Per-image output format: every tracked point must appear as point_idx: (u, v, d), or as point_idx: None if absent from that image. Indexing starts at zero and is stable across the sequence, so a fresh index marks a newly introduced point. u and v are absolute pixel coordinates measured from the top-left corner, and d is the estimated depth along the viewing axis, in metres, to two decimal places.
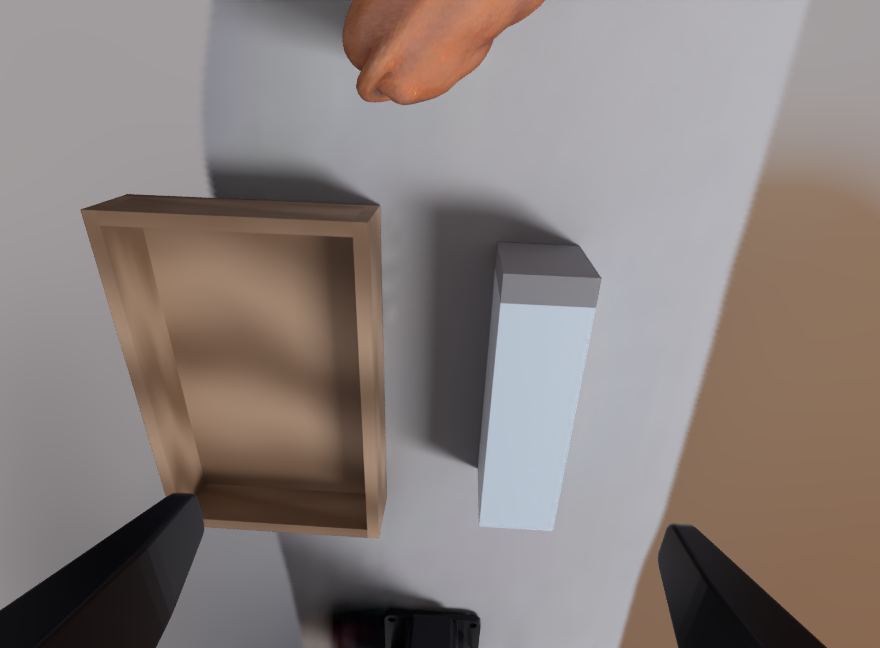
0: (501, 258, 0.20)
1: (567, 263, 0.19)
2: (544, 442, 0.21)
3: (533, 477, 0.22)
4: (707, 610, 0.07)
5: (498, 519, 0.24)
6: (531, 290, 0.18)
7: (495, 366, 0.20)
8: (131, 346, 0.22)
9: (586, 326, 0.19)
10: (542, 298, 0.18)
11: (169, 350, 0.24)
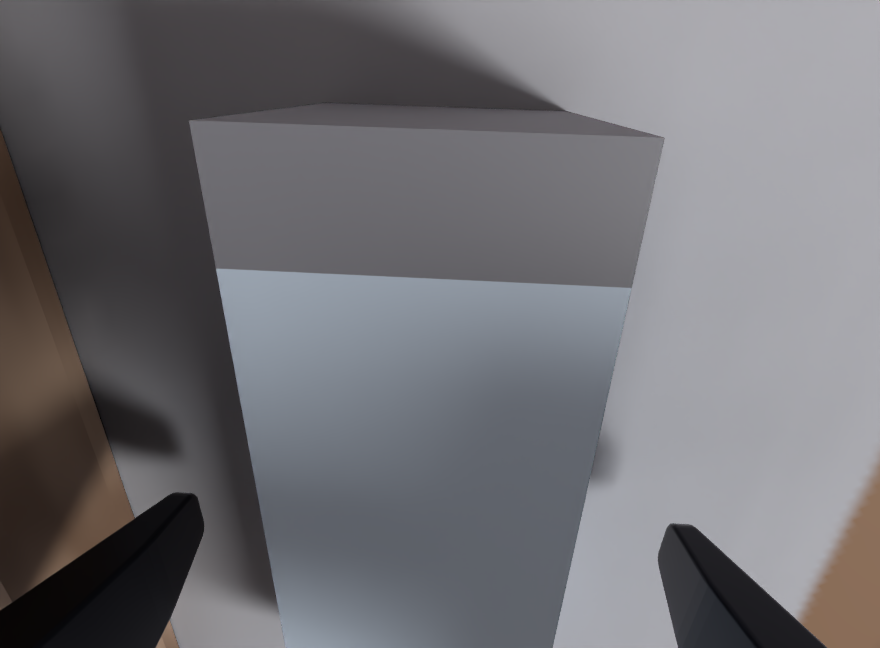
0: (276, 111, 0.05)
1: (515, 119, 0.05)
2: None
3: None
4: (707, 610, 0.07)
5: None
6: (337, 207, 0.04)
7: (262, 504, 0.06)
8: None
9: (590, 367, 0.04)
10: (392, 245, 0.04)
11: None
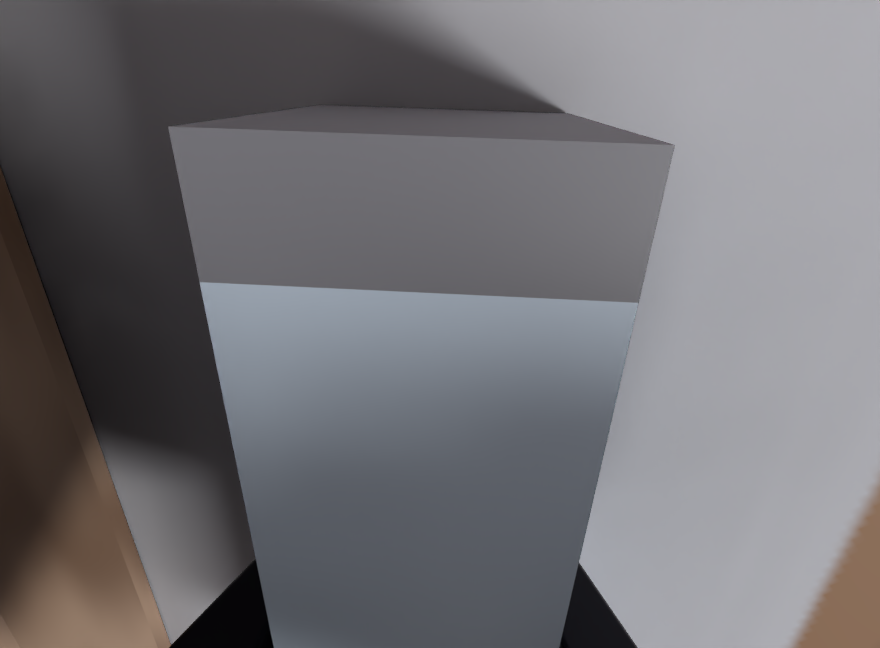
0: None
1: (516, 124, 0.05)
2: None
3: None
4: None
5: None
6: (326, 218, 0.04)
7: (251, 525, 0.05)
8: None
9: (594, 385, 0.04)
10: (385, 258, 0.04)
11: None
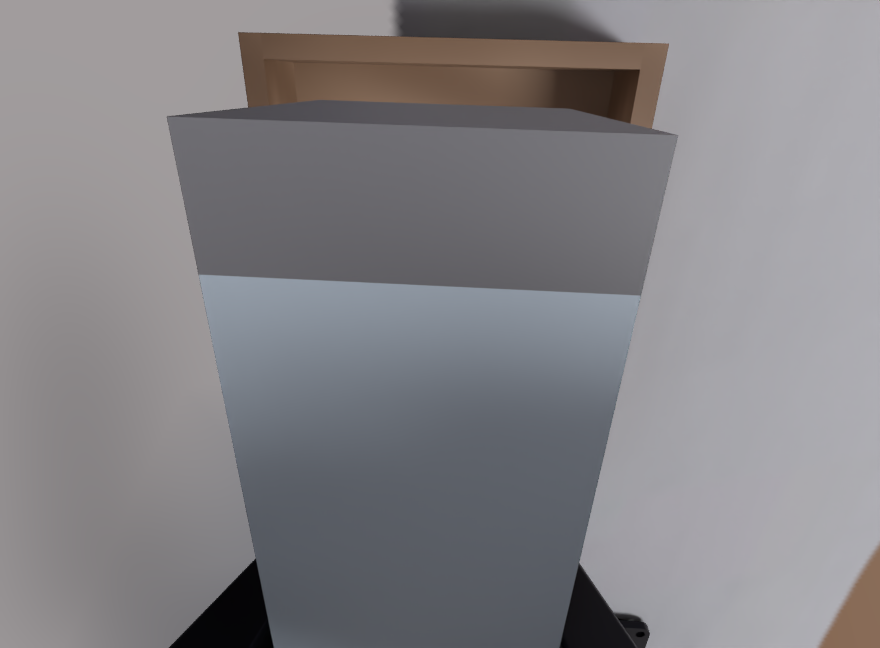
0: (265, 108, 0.05)
1: (517, 117, 0.05)
2: None
3: None
4: None
5: None
6: (326, 209, 0.04)
7: (251, 520, 0.05)
8: None
9: (596, 379, 0.04)
10: (385, 250, 0.04)
11: None
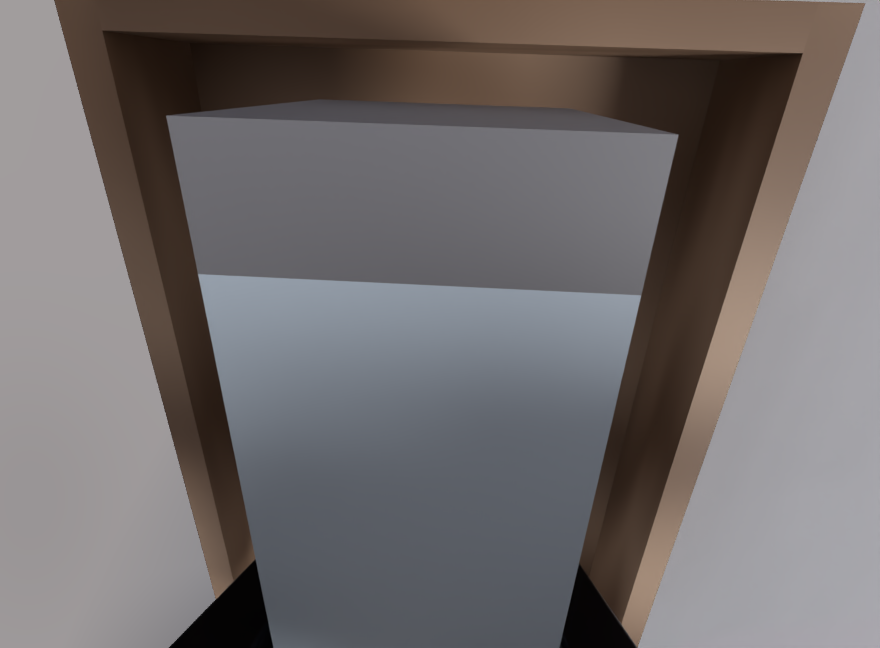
0: None
1: (517, 115, 0.05)
2: None
3: None
4: None
5: None
6: (326, 209, 0.04)
7: (250, 520, 0.05)
8: (172, 353, 0.10)
9: (596, 379, 0.04)
10: (385, 250, 0.04)
11: None
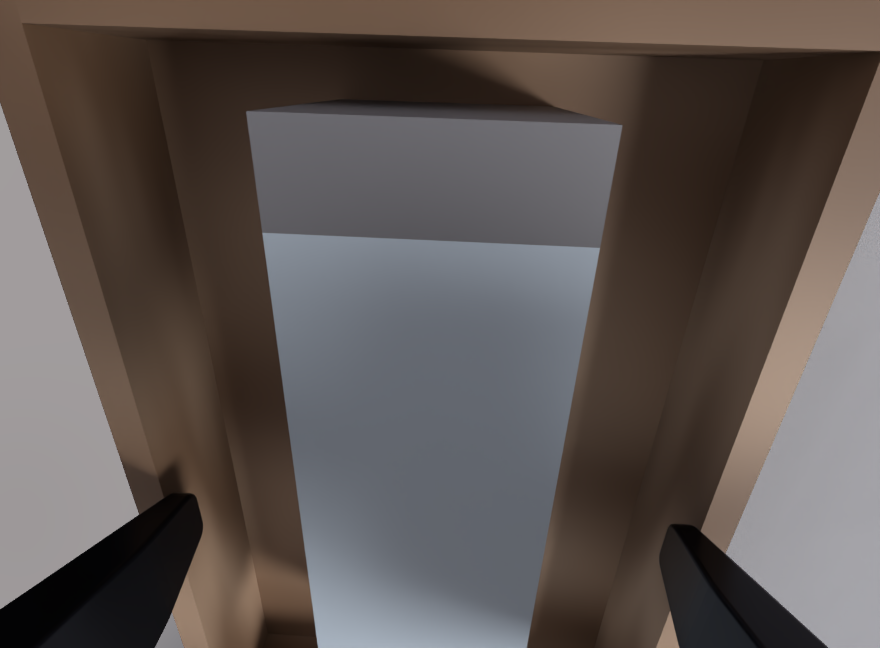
0: (305, 105, 0.06)
1: (508, 112, 0.06)
2: (463, 626, 0.08)
3: None
4: (708, 610, 0.07)
5: None
6: (362, 181, 0.05)
7: (292, 440, 0.06)
8: (127, 399, 0.08)
9: (568, 315, 0.05)
10: (406, 213, 0.05)
11: (212, 396, 0.11)
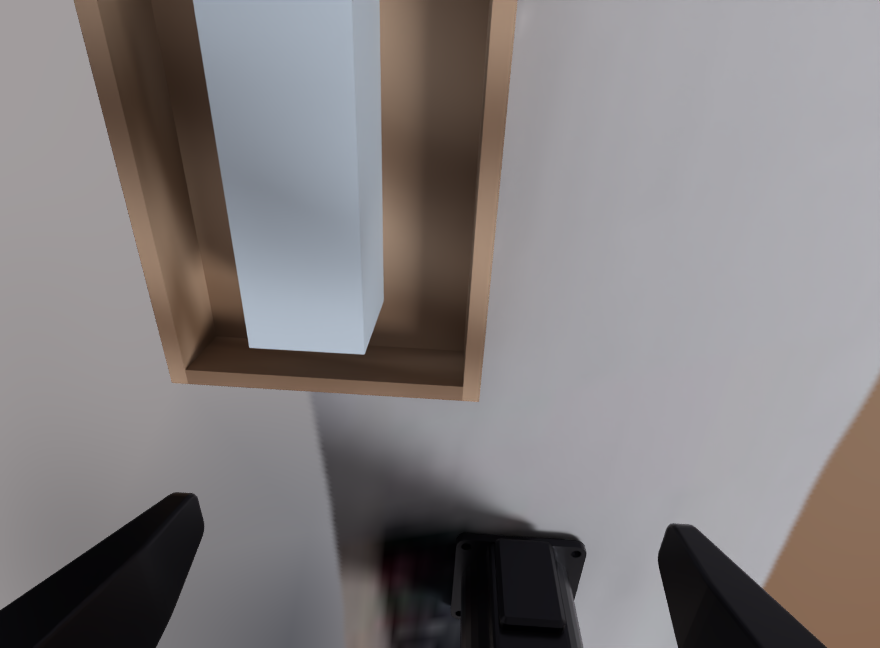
0: None
1: None
2: (315, 170, 0.13)
3: (313, 248, 0.14)
4: (707, 610, 0.07)
5: (275, 334, 0.15)
6: None
7: None
8: (97, 25, 0.13)
9: None
10: None
11: (163, 87, 0.15)
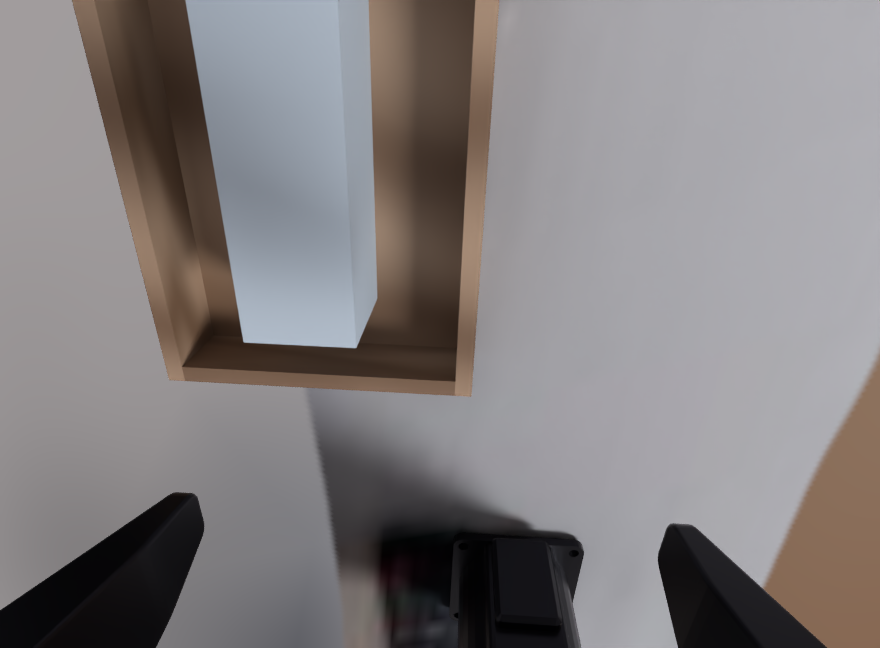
0: None
1: None
2: (305, 166, 0.13)
3: (304, 243, 0.14)
4: (707, 610, 0.07)
5: (269, 328, 0.15)
6: None
7: None
8: (96, 30, 0.13)
9: None
10: None
11: (160, 90, 0.16)
